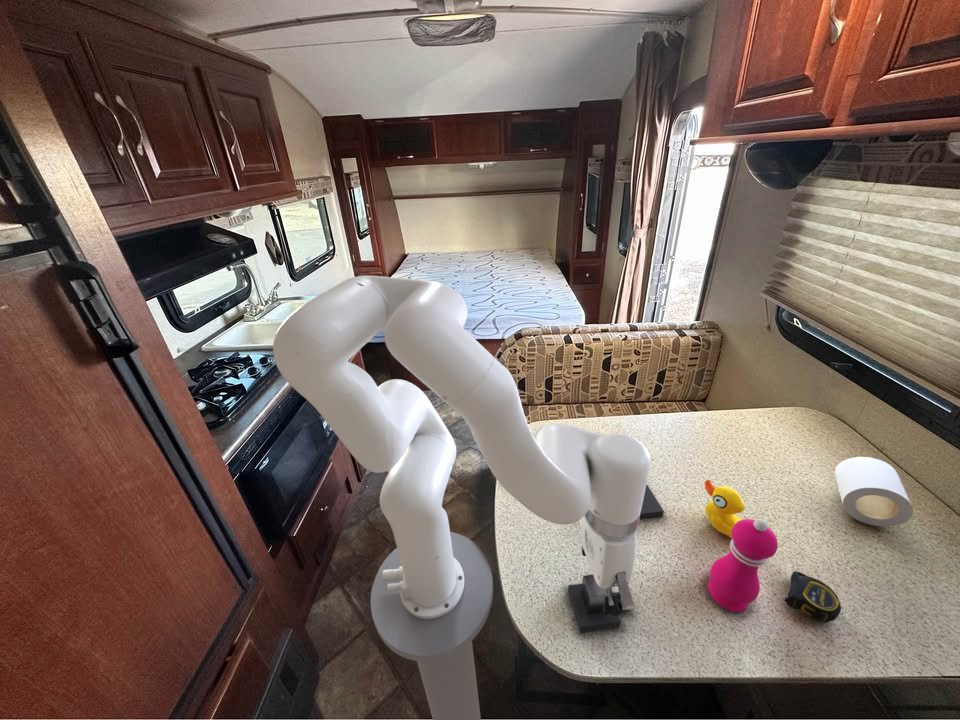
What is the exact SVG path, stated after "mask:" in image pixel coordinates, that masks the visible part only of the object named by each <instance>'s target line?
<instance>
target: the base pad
mask: <svg viewBox="0 0 960 720" xmlns="http://www.w3.org/2000/svg"><path fill="white" fill-rule="evenodd" d="M664 511H665V510H664V509H663V507H662V505H661V504H660V502H659V501H658V499H657V498H656V496H655V495H654V493H653V491H652V490H651V488H650V486H649V485H648V484H646V489H645V494H644V499H643V504H642V508H641V513H640V518H639V521H640V520H648V519H649V520H650V519H658V518H663V516H664V513H665V512H664Z"/></svg>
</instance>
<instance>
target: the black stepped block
mask: <svg viewBox="0 0 960 720" xmlns="http://www.w3.org/2000/svg"><path fill="white" fill-rule="evenodd" d="M581 581H582V582H581V583H576V584H569V585H568V587H567V594H568V597H569V601H570V604H571V607H572V611H573V614H574V617H575V620H576V624H577V627H578V630H579V633H580V634H583V633H590V632H591V633H592V632H598V631H605V630H611V629H612V630H614V629H619V628H621V624H622V620H621V617H620V615H617V616H612V615H611V614H607V615H605V614H604V612H603V606H604V600H605V596H607V591H606V589H601V588H600V587H599V586H598V585H597V583H596V581H595V579H594V576H593V573H591V574H586V575H585V574H584V575H582V580H581ZM616 593H619V591H617V592H613V594H616ZM630 611H631V609H630V610H624V612H623V613H627V612H630Z"/></svg>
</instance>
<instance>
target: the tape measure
mask: <svg viewBox="0 0 960 720" xmlns="http://www.w3.org/2000/svg"><path fill="white" fill-rule="evenodd" d="M783 602H785V603H786V605H787V606H788V607H790V608H791V609H793V610H795V611H796V610H798V611H800V612H801V613H802V614H804V616H806V617H808V618H809V619H811V620H815V621H817V622H823V623H830V622H834V621H836V619H837V618H838V617H839V616H840V613H841V610H842V605H841V602H840V599H839V596H838V594H836V592H835V591H834V589H832V588H831V587H830V586H829V585H827V584H826V583H825V582H823V581H821V580H820V579H818V578H815V577H812V576H809V575H807V574H805V573H803V572H800V571H793V572H792V573H791V575H790V585H789V589H788V592H787V597H784V599H783Z"/></svg>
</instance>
